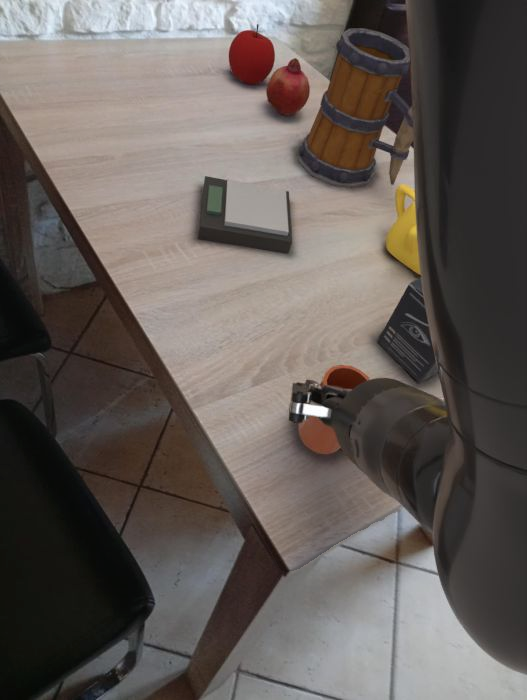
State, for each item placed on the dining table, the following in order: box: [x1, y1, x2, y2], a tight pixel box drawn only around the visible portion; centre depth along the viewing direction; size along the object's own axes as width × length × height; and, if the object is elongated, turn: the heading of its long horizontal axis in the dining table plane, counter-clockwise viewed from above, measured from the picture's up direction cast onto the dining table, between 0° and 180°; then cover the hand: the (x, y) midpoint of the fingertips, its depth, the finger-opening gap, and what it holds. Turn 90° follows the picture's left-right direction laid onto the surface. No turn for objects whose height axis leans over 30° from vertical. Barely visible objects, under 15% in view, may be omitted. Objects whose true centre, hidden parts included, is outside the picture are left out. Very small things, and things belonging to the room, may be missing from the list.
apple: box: [228, 23, 276, 85], centre depth 103 cm, size 9×9×10 cm
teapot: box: [385, 184, 421, 276], centre depth 78 cm, size 14×13×10 cm
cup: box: [297, 364, 371, 455], centre depth 54 cm, size 5×5×9 cm
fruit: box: [265, 57, 311, 116], centre depth 97 cm, size 8×8×10 cm
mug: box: [296, 27, 413, 189], centre depth 85 cm, size 19×14×20 cm
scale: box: [197, 175, 293, 254], centre depth 77 cm, size 13×12×3 cm
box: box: [377, 277, 438, 384], centre depth 64 cm, size 8×6×11 cm
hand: (334, 392), depth 54 cm, fingers closed on cup, 5 cm apart
